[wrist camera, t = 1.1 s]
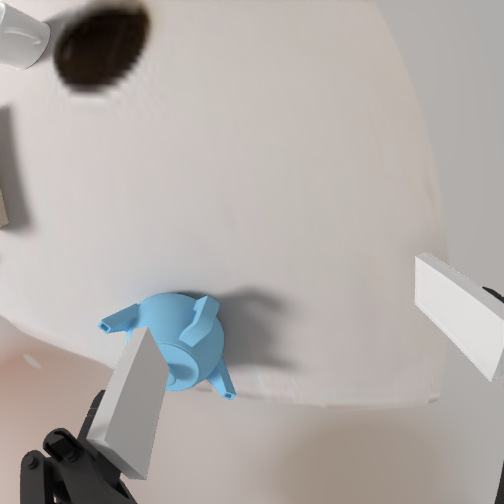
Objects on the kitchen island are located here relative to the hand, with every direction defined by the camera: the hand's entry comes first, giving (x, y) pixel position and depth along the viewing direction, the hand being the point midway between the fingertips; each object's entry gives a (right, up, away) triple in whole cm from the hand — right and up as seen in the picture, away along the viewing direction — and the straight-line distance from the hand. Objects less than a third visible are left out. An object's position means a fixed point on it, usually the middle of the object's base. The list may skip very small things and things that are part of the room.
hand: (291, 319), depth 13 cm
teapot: (-13, -8, +28) cm, 32 cm away
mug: (-35, +34, +12) cm, 50 cm away
